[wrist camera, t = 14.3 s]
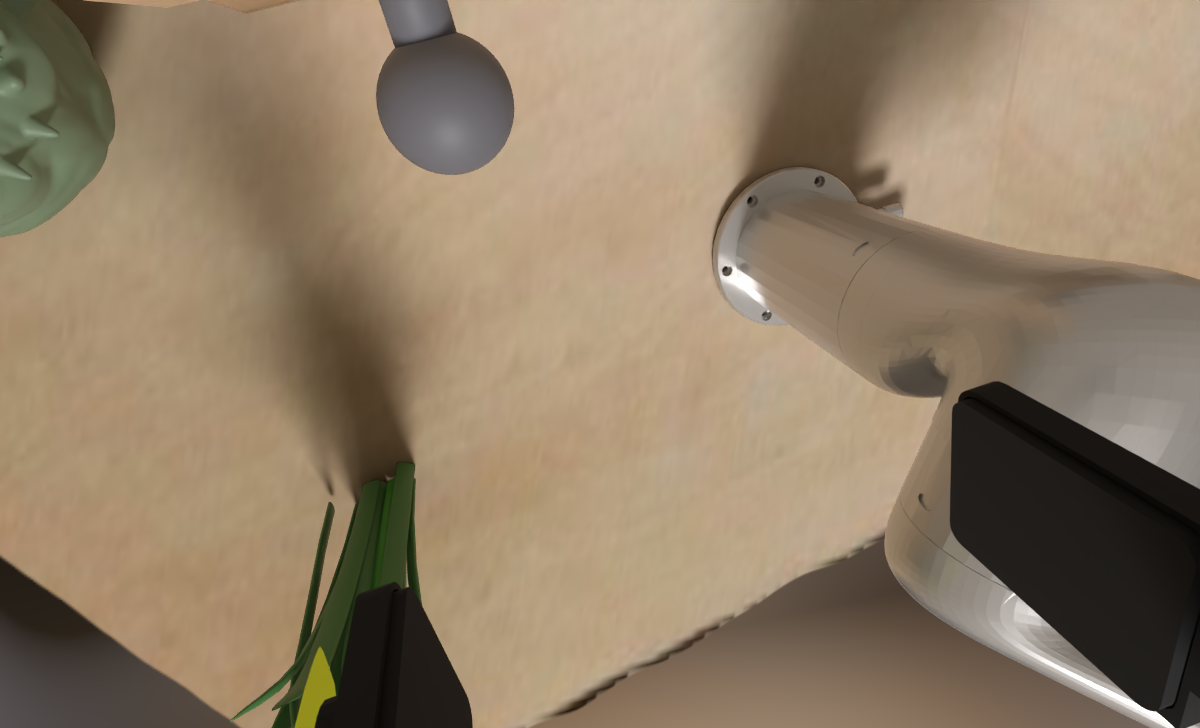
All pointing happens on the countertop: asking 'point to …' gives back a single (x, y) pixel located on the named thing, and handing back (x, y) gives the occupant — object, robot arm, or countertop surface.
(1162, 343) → the robot arm
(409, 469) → the daffodil flowers
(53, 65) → the green lumpy rounded blob
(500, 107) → the lid
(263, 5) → the carton
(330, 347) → the countertop surface
